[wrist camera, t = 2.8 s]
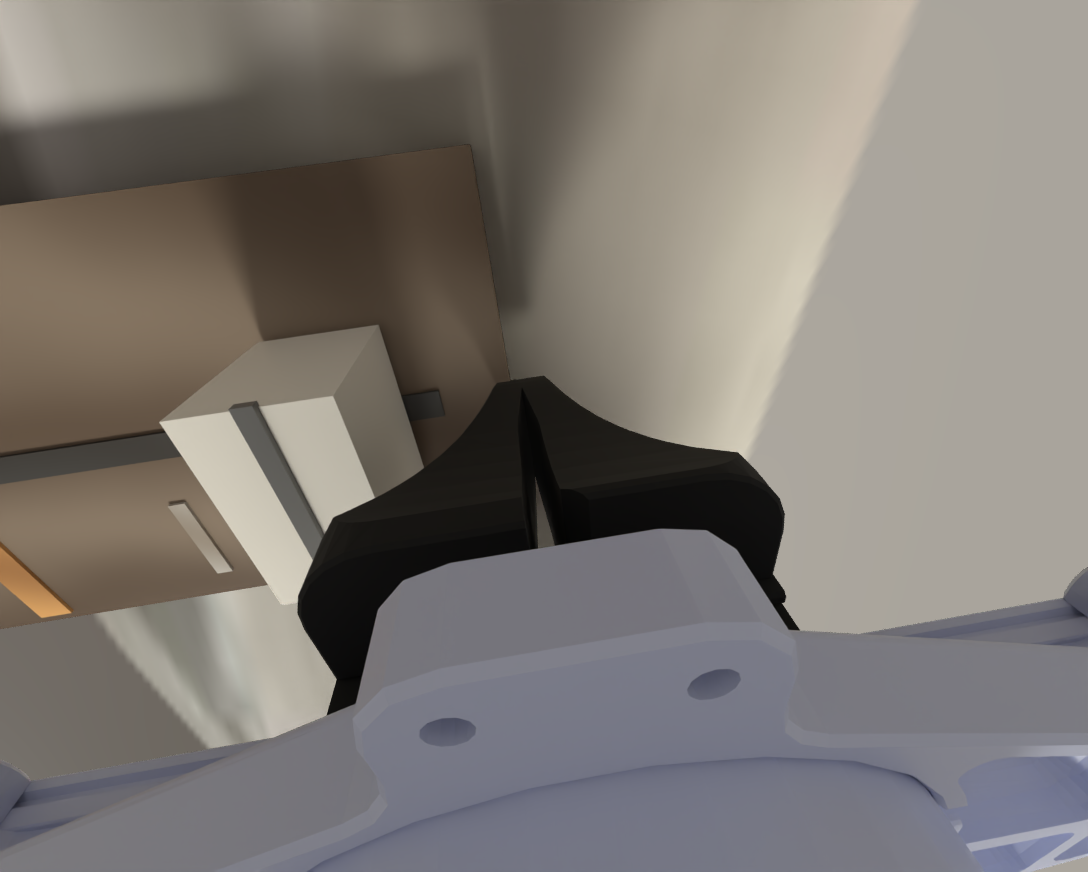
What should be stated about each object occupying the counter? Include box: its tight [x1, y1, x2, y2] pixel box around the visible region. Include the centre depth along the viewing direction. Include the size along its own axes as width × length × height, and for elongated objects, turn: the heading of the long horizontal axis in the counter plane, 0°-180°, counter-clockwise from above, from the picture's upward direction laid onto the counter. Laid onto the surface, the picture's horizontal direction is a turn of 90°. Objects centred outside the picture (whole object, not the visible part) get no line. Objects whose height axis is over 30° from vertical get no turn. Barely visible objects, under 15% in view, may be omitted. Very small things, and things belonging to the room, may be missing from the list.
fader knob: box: [159, 325, 424, 605], centre depth 11 cm, size 5×3×4 cm, turn 6°
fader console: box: [0, 144, 510, 629], centre depth 13 cm, size 12×21×2 cm, turn 96°
